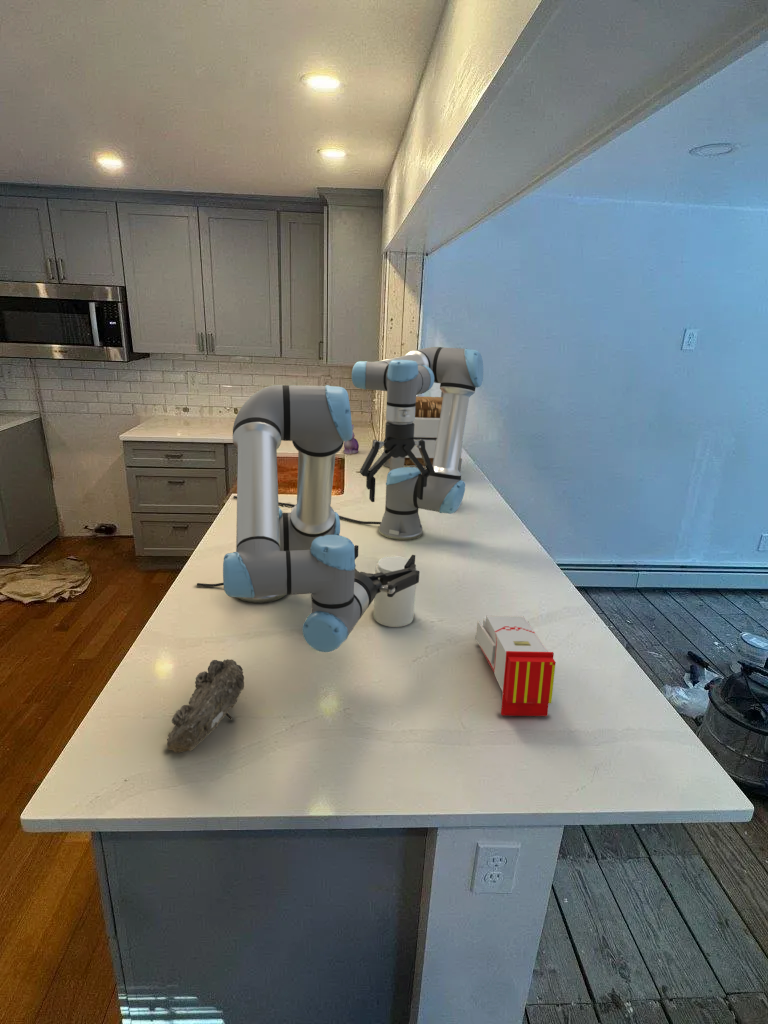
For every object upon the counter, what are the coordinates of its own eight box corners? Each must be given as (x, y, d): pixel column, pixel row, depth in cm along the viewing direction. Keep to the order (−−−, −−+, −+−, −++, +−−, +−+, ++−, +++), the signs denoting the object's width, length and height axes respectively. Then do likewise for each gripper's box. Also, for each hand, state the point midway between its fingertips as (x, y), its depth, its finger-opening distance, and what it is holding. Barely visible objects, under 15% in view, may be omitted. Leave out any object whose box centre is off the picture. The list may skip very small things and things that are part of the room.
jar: (397, 602, 153) (400, 551, 148) (421, 619, 145) (425, 566, 140) (365, 613, 147) (367, 560, 142) (389, 631, 140) (392, 576, 134)
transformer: (382, 463, 289) (386, 382, 275) (445, 464, 293) (451, 384, 279) (390, 482, 257) (394, 392, 243) (460, 483, 261) (468, 394, 247)
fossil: (192, 660, 117) (244, 628, 112) (224, 691, 120) (276, 661, 115) (142, 746, 98) (202, 712, 93) (182, 779, 101) (242, 748, 96)
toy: (522, 601, 137) (564, 658, 107) (517, 652, 139) (557, 722, 110) (472, 600, 136) (500, 657, 107) (468, 651, 139) (495, 721, 110)
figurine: (346, 455, 302) (347, 427, 297) (339, 450, 310) (339, 423, 305) (362, 453, 306) (363, 426, 301) (354, 449, 314) (355, 422, 309)
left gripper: (293, 602, 115) (333, 561, 134) (412, 626, 108) (436, 579, 127) (293, 568, 113) (334, 531, 132) (414, 591, 106) (439, 549, 125)
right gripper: (356, 425, 140) (354, 506, 148) (450, 424, 147) (443, 501, 154) (350, 419, 147) (348, 496, 154) (440, 418, 154) (434, 493, 161)
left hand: (384, 555), depth 130 cm, fingers open, 13 cm apart
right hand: (396, 499), depth 154 cm, fingers open, 13 cm apart
